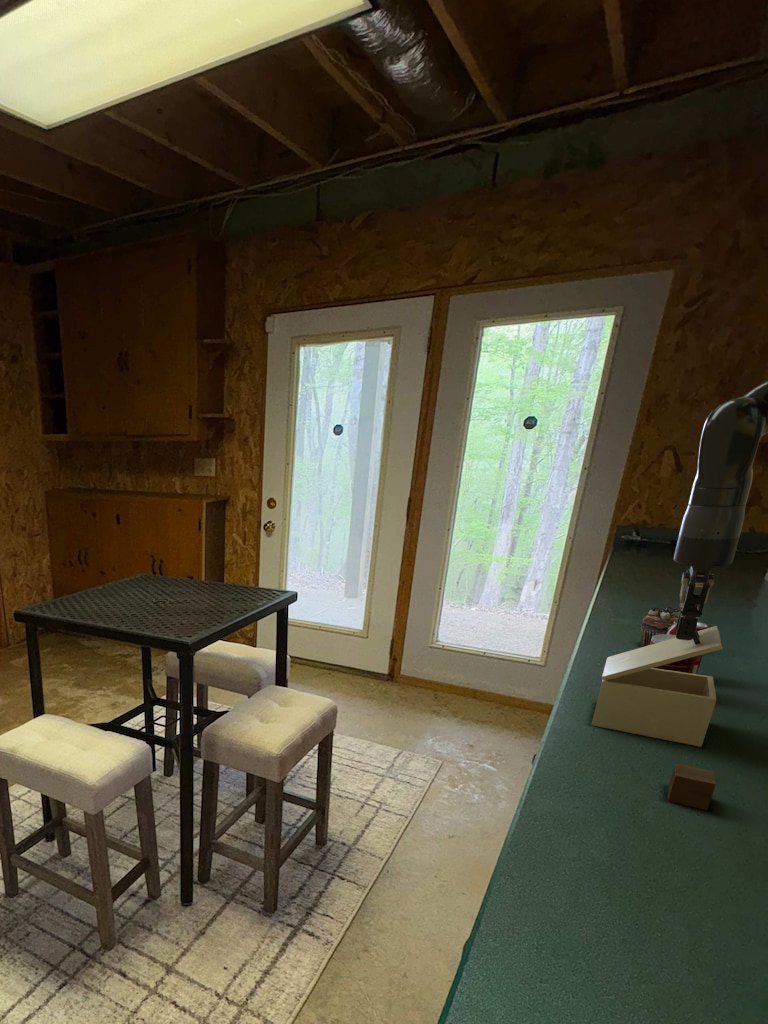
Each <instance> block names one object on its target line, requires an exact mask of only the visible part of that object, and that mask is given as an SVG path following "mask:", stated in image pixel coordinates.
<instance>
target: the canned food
mask: <svg viewBox="0 0 768 1024" xmlns="http://www.w3.org/2000/svg"><path fill="white" fill-rule="evenodd" d="M673 638H676V635H668V634H660V635H654V636H652V639H651V641H650V645H652V644H655V643H659V642H662V641H666V640H669V639H673ZM696 659H697V656H695V657H691V658H687V659H683V660H680V661H676V662H672V663H668V664H665V665H661V666H657V667H653V668H656V669H663V670H670V671H677V672H684V673H691V674H692V672H693V668H694V665H695V662H696Z"/></svg>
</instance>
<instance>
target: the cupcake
mask: <svg viewBox="0 0 768 1024" xmlns="http://www.w3.org/2000/svg"><path fill="white" fill-rule="evenodd" d="M679 613H680V609H677V608H673V607H671V606H670V605H669V606H666V607H664V608H659V607H652V608H651V609H650V610H649V611H648V613H647V615H646V616H645V617H643V618H642V623H641V625H640V646H641V647H645V646H648V645H650V641H651V639H652V636H654V635H660V634H667V631H668V629H669V628H670V627H671V626H672V625H674V621H677V620H678V617H679Z"/></svg>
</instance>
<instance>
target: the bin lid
mask: <svg viewBox="0 0 768 1024" xmlns="http://www.w3.org/2000/svg"><path fill="white" fill-rule="evenodd" d="M696 627H697V624H696ZM721 639H722V638H721V635H720V630H719V628H718V626H717V625H715V626H712V627H707V628H706V629H704V630H700V631H697V629H696V628H695V632H694V636H693V639H692V640H680V639H677V638H673V639H669V640H666V641H662V642H659V643H655V644H652V645H648V646H645V647H642V646H641V647H638V648H634V649H631V650H628V651H625V652H621V653H618V654H614V655H611V656H607V658H606V660H605V661H606V662H605V665H604V668H603V672H602V675H601V678H602V680H604V681H605V680H609V679H612V678H616V677H620V676H623V675H627V674H631V673H635V672H638V671H642V670H646V669H650V668H653V667H657V666H661V665H665V664H668V663H672V662H676V661H680V660H683V659H687V658H691V657H695V656H698V655H702V654H703V655H706V654H709V653H710V654H711V653H714V652H717V651H721V650H724V649H723V643H722V641H721Z"/></svg>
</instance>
